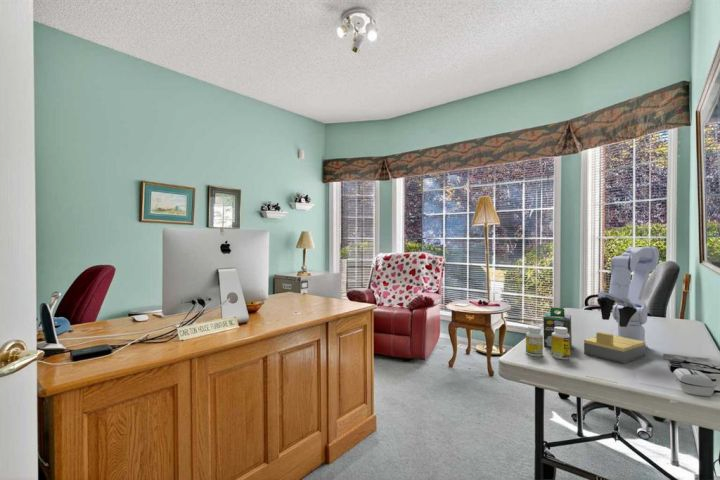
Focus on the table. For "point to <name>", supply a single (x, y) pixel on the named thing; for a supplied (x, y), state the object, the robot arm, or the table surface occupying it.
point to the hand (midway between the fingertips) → (614, 323)
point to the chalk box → (555, 325)
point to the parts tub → (617, 355)
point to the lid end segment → (607, 342)
